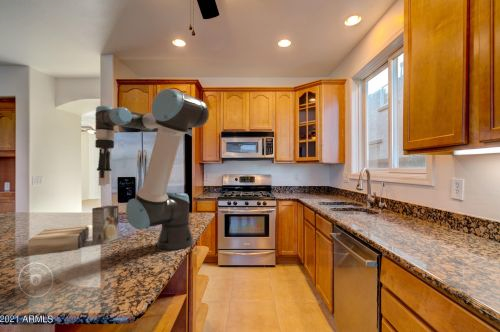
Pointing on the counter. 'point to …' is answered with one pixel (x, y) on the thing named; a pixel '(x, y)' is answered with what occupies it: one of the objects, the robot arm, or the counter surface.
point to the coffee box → (104, 224)
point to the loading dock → (58, 240)
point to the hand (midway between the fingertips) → (104, 184)
